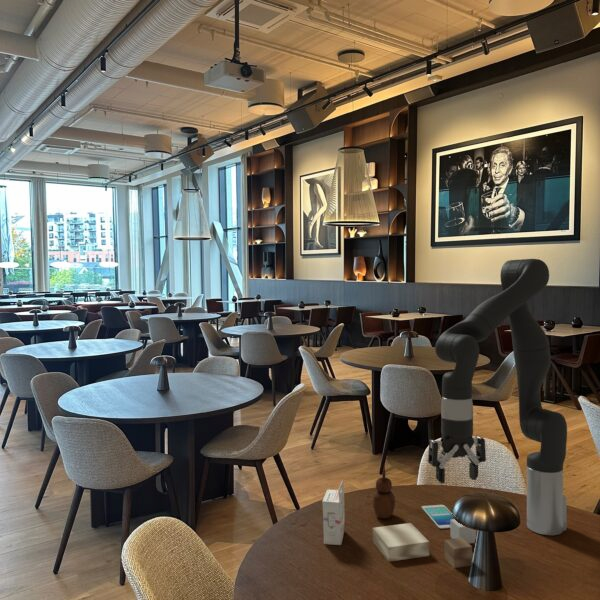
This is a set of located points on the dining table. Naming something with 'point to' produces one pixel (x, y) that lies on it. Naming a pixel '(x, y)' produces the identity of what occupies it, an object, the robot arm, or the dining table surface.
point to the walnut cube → (457, 552)
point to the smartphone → (439, 515)
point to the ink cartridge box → (333, 516)
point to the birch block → (400, 542)
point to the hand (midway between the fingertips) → (457, 480)
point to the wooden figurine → (383, 497)
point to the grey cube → (462, 532)
